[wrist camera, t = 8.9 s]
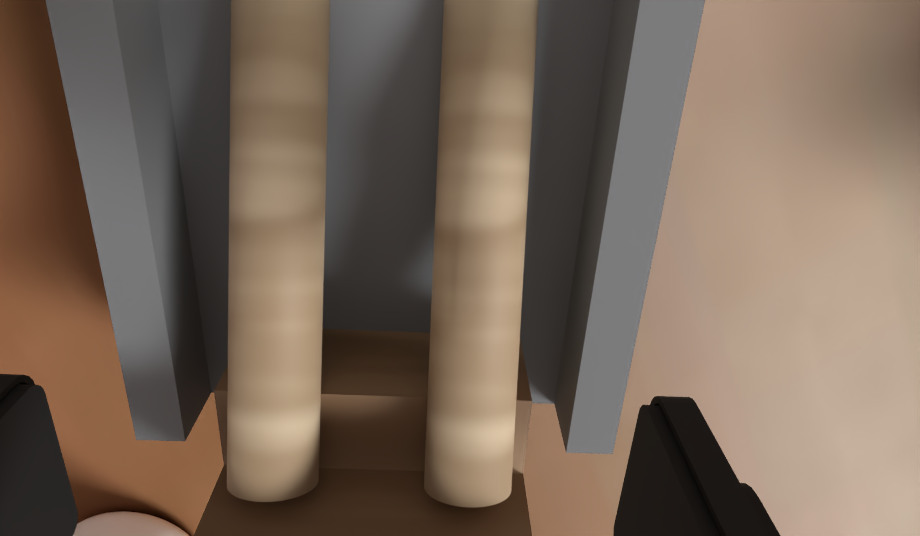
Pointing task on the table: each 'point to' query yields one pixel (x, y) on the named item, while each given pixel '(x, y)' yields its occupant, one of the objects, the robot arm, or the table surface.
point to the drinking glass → (126, 525)
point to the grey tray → (375, 186)
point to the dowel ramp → (365, 351)
